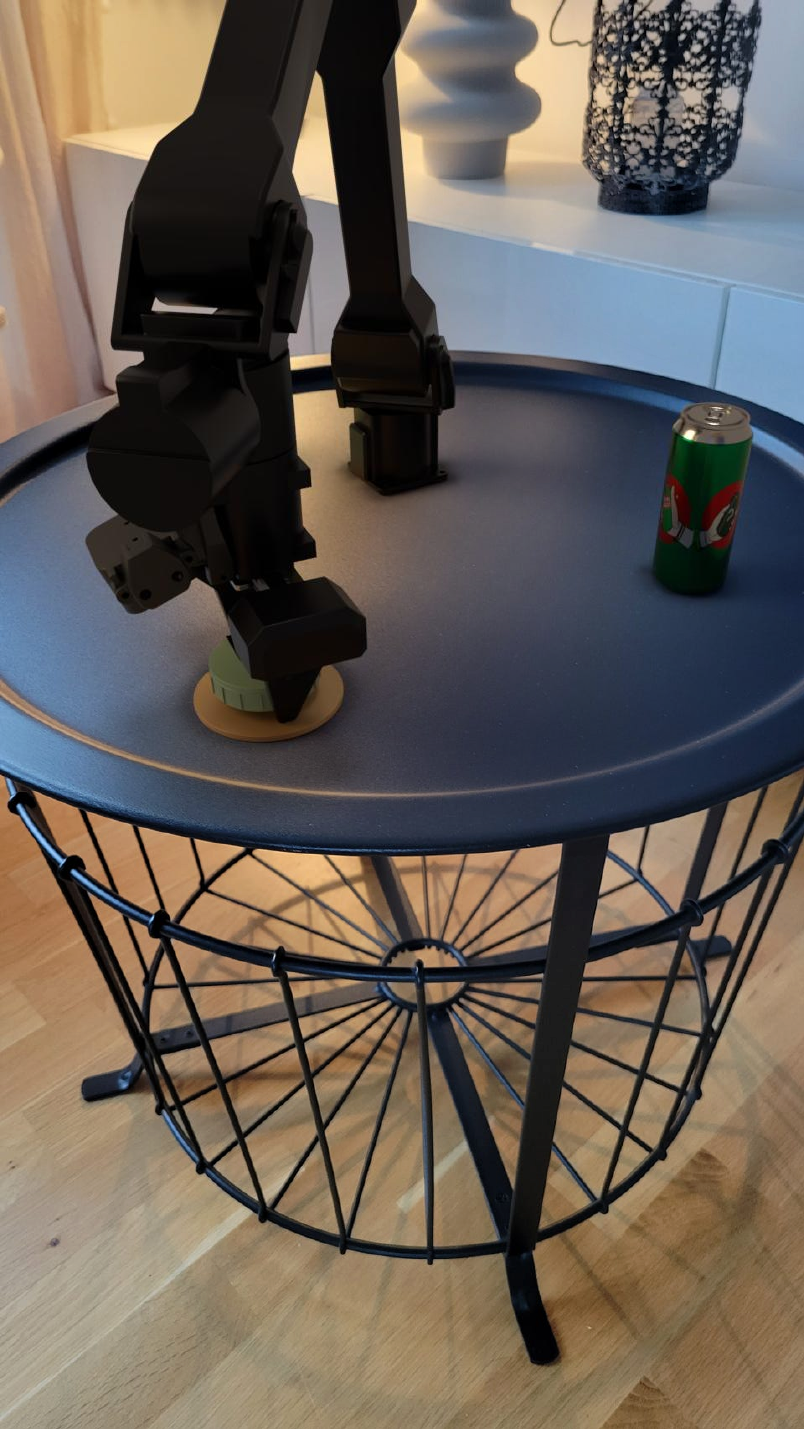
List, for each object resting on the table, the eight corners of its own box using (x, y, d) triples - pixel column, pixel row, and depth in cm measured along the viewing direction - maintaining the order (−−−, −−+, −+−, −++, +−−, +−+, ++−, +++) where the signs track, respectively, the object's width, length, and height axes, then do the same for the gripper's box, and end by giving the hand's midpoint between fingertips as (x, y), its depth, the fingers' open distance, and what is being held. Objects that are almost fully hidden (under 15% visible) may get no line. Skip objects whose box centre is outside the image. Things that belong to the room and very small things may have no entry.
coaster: (305, 640, 69) (305, 635, 68) (369, 712, 62) (369, 706, 62) (173, 680, 65) (172, 675, 65) (227, 760, 59) (226, 755, 59)
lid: (217, 720, 60) (214, 696, 59) (206, 658, 65) (203, 636, 64) (329, 702, 61) (327, 679, 60) (309, 643, 66) (308, 621, 65)
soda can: (727, 568, 75) (759, 404, 68) (720, 603, 71) (753, 433, 64) (656, 558, 77) (680, 396, 69) (645, 591, 73) (669, 424, 66)
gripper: (51, 408, 58) (103, 644, 68) (122, 554, 45) (176, 825, 54) (244, 377, 62) (268, 605, 71) (365, 504, 48) (375, 766, 58)
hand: (268, 690), depth 63 cm, fingers closed on lid, 6 cm apart
